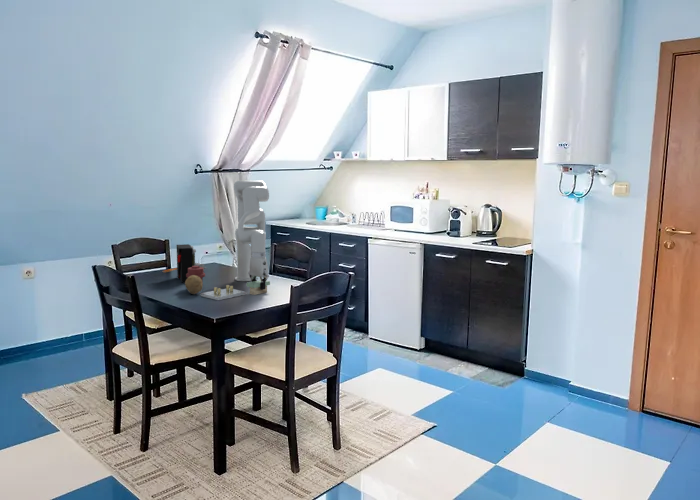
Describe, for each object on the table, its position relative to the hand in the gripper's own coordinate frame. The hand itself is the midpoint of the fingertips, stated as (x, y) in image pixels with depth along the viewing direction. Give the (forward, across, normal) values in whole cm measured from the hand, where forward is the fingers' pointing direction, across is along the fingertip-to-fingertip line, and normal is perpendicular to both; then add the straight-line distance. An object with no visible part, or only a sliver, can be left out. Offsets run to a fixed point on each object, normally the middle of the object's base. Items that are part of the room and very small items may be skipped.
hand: (258, 288), depth 290 cm
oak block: (+3, 0, 0) cm, 3 cm away
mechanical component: (+3, +34, +15) cm, 37 cm away
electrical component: (+3, +59, +4) cm, 59 cm away
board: (-1, 0, 0) cm, 1 cm away
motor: (+3, +83, -11) cm, 84 cm away
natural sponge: (+3, +23, +24) cm, 33 cm away
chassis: (+3, +9, +16) cm, 19 cm away
